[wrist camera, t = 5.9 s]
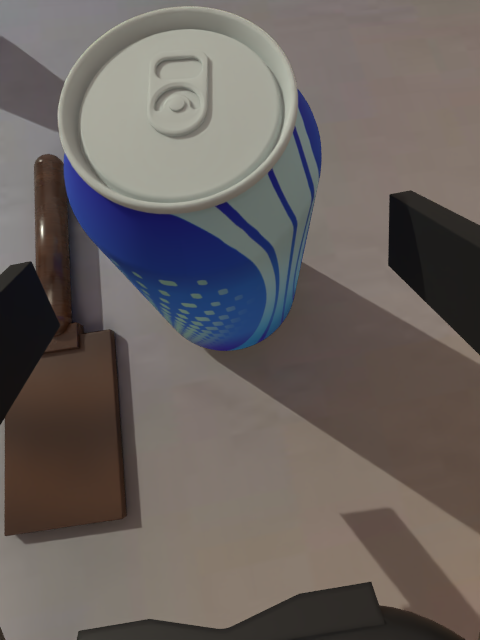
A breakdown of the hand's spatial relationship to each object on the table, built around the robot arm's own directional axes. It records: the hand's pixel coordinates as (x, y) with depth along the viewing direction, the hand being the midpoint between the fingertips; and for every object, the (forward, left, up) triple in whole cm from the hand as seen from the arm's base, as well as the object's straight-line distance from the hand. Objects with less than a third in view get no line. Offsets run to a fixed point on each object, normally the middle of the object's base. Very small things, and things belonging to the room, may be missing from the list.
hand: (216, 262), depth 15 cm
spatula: (-10, -6, -11) cm, 16 cm away
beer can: (-2, +2, -11) cm, 11 cm away
